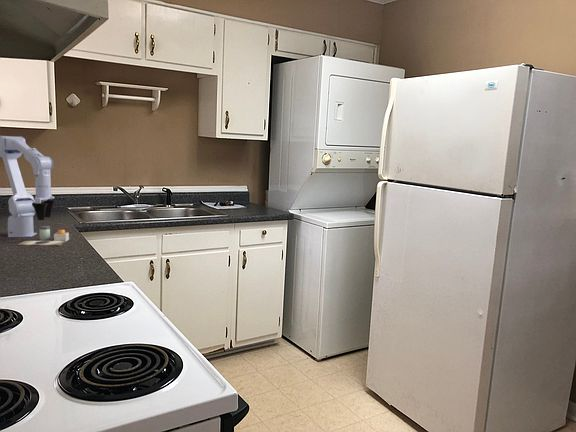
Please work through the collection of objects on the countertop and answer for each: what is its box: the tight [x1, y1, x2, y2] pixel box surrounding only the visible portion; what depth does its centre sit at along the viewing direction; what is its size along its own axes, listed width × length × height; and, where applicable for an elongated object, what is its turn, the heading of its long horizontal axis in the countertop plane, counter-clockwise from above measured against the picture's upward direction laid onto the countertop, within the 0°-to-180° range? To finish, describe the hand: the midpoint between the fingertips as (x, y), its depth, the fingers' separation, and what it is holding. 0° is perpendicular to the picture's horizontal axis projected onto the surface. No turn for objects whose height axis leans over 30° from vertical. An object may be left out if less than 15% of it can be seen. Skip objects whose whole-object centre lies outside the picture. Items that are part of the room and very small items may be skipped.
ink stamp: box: [38, 225, 51, 241], centre depth 202 cm, size 4×4×6 cm
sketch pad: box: [17, 240, 67, 247], centre depth 197 cm, size 16×8×1 cm, turn 99°
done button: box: [57, 229, 66, 234], centre depth 204 cm, size 3×3×3 cm
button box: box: [53, 232, 70, 242], centre depth 204 cm, size 5×5×3 cm
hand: (44, 218), depth 201 cm, fingers open, 7 cm apart
